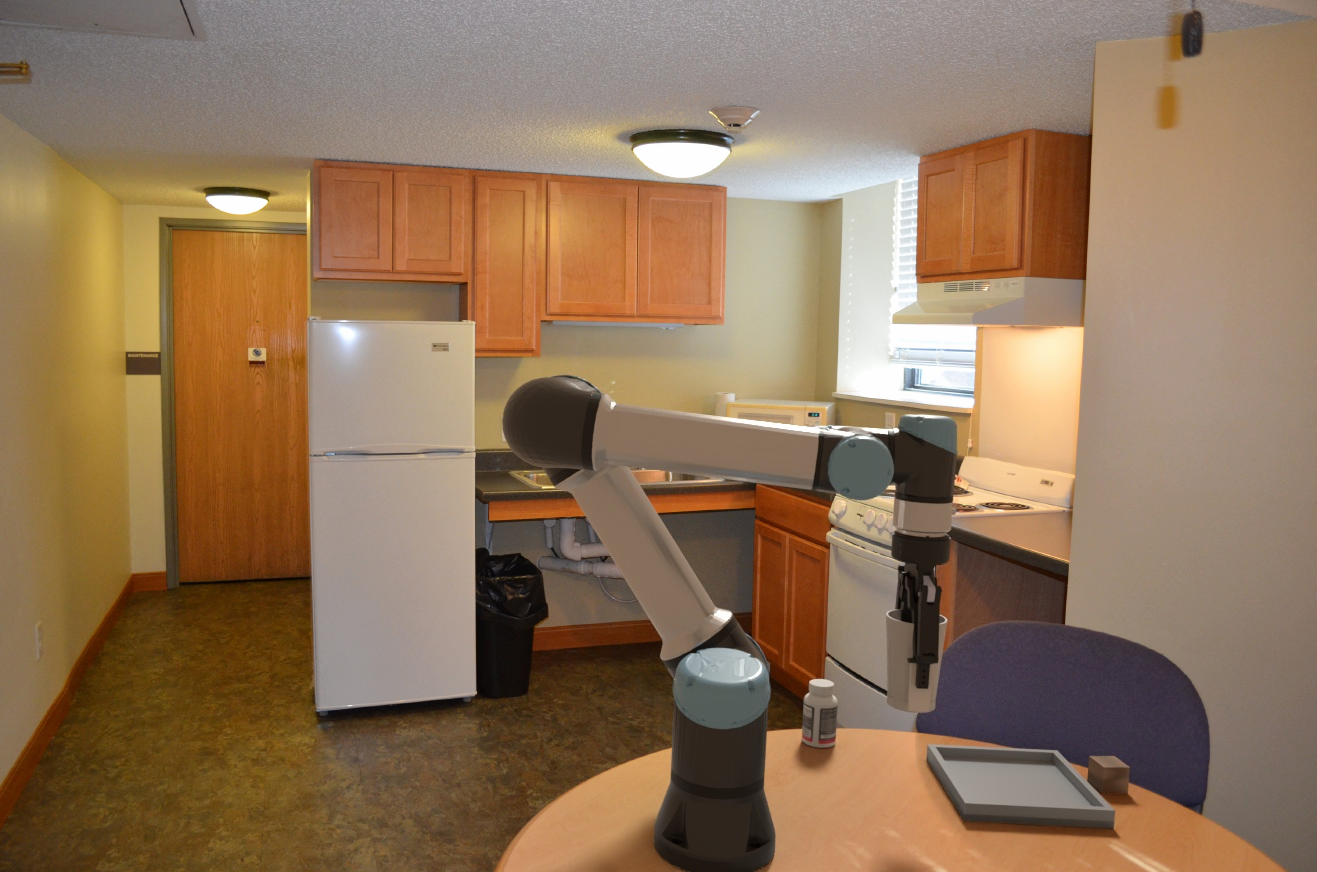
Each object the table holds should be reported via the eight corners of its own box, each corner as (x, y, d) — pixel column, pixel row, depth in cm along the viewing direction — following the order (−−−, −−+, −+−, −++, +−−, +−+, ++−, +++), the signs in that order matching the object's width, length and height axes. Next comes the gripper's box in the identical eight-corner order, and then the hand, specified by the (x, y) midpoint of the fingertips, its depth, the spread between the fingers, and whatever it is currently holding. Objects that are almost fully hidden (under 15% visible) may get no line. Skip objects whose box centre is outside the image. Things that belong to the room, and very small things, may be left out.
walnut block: (1101, 793, 141) (1103, 767, 141) (1087, 781, 145) (1089, 755, 145) (1127, 793, 141) (1129, 767, 141) (1112, 781, 145) (1114, 755, 145)
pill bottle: (836, 738, 157) (840, 679, 157) (834, 750, 152) (837, 690, 152) (803, 733, 159) (806, 675, 158) (799, 745, 154) (802, 685, 153)
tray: (964, 820, 130) (965, 802, 130) (926, 759, 150) (927, 743, 150) (1113, 828, 130) (1115, 810, 130) (1056, 765, 150) (1057, 750, 150)
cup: (944, 718, 126) (950, 627, 125) (881, 711, 127) (886, 621, 126) (939, 697, 133) (944, 612, 132) (879, 691, 135) (885, 606, 134)
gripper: (973, 547, 118) (960, 729, 120) (930, 519, 138) (920, 676, 140) (911, 544, 118) (899, 726, 120) (877, 517, 139) (868, 673, 140)
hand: (910, 699), depth 130 cm, fingers closed on cup, 7 cm apart
